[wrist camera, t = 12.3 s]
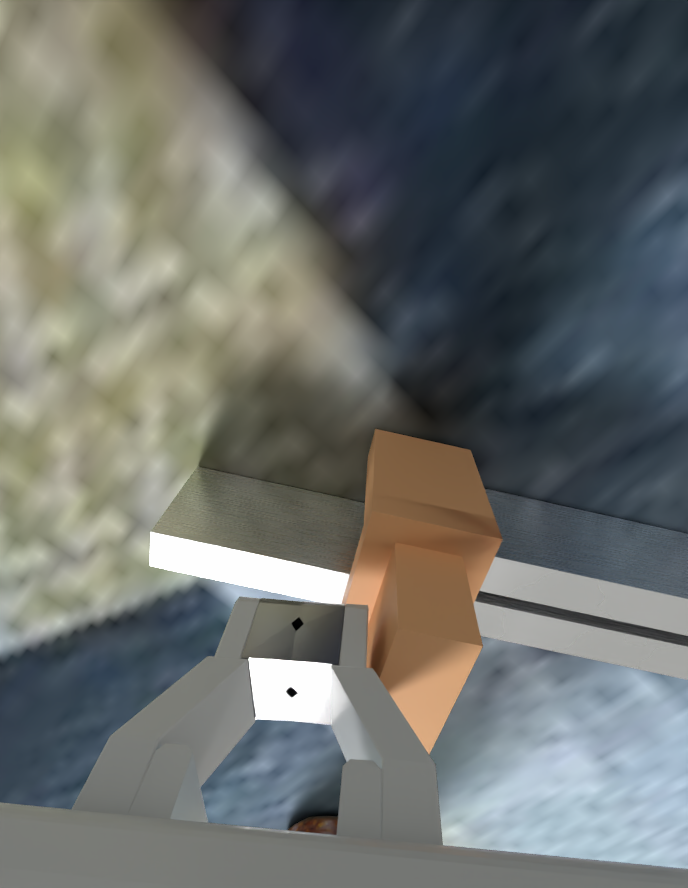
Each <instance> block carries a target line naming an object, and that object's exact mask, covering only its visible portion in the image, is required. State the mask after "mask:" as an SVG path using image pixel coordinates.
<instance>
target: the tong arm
mask: <svg viewBox="0 0 688 888" xmlns="http://www.w3.org/2000/svg"><path fill="white" fill-rule="evenodd" d="M484 489H485V488H484ZM485 491H486V494H487V497H488V500H489V503H490V505H491V508H492V511H493V514H494V516H495V519H496V522H497V525H498V528H499V530H500V533H501V536H502V539H503V540H502V542H501V545H500V547H499V549H498V551H497V553H496V555H495V558H494V560H493V562H492V564H491V566H490V569H489V571H488V573H487V575H486V577H485V580H484V582H483V584H482V586H481V588H480V591H483V592H487V593H492V594H497V595H501V596H506V597H510V598H515V599H520V600H524V601H529V602H534V603H538V604H543V605H547V606H552V607H557V608H561V609H566V610H570V611H575V612H580V613H584V614H589V615H593V616H598V617H603V618H607V619H612V620H616V621H621V622H626V623H630V624H635V625H640V626H644V627H649V628H653V629H658V630H663V631H667V632H672V633H676V634H681V635H686V636H688V534H686V533H682V532H678V531H673V530H669V529H664V528H660V527H655V526H651V525H646V524H642V523H637V522H633V521H628V520H624V519H619V518H615V517H610V516H606V515H601V514H597V513H592V512H588V511H584V510H579V509H575V508H570V507H566V506H561V505H557V504H552V503H548V502H543V501H539V500H534V499H530V498H525V497H521V496H516V495H512V494H507V493H503V492H498V491H494V490H489V489H485Z"/></svg>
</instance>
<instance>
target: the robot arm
mask: <svg viewBox="0 0 688 888" xmlns="http://www.w3.org/2000/svg"><path fill="white" fill-rule="evenodd" d="M368 612H369V608H368V605H359V604H340V603H321V602H303V601H302V602H299V601H287V600H276V599H265V598H262V599H260V598H249V597H239V598H238V600H237V601H236V602H235V605H234V607H233V610H232V612H231V615H230V618H229V620H228V623H227V625H226V628H225V631H224V633H223V636H222V638H221V641H220V644H219V646H218V649H217V651H216V654H215V657H211V656H208V657H206V658H205V659H204V660H203V661H202V662H200V663H199V664H198V665H197V666H195V667H194V668H193V669H192V670H190V671H189V672H188V673H187V674H186V675H184V676H183V677H182V678H181V679H179V680H178V681H177V682H176V683H175V684H173V685H172V686H171V687H170V688H168V689H167V690H166V691H165V692H163V693H162V694H161V695H160V696H159V697H157V698H156V699H155V700H154V701H152V702H151V703H150V704H149V705H148V706H146V707H145V708H144V709H143V710H141V711H140V712H139V713H138V714H136V715H135V716H134V717H133V718H132V719H130V720H129V721H128V722H127V723H125V724H124V725H123V726H122V727H121V728H119V729H118V730H117V731H116V732H114V733H113V734H112V735H111V736H110V737H109V739H108V741H107V743H106V745H105V747H104V749H103V751H102V752H101V754H100V756H99V758H98V760H97V762H96V764H95V766H94V768H93V770H92V771H91V773H90V775H89V777H88V779H87V781H86V783H85V785H84V787H83V789H82V790H81V792H80V794H79V796H78V798H77V800H76V802H75V804H74V806H73V808H72V809H71V810H70V809H60V808H50V807H39V806H29V805H19V804H8V803H0V888H688V869H683V868H673V867H663V866H652V865H642V864H631V863H621V862H611V861H600V860H590V859H579V858H569V857H559V856H548V855H538V854H527V853H517V852H507V851H496V850H486V849H475V848H465V847H455V846H444V845H443V842H442V831H441V820H440V809H439V797H438V786H437V775H436V765H435V763H434V761H433V760H432V758H431V757H430V755H429V754H428V752H427V751H426V749H425V748H424V746H423V745H422V743H421V741H420V740H419V738H418V737H417V735H416V734H415V732H414V731H413V729H412V728H411V726H410V725H409V723H408V721H407V720H406V718H405V717H404V715H403V714H402V712H401V711H400V709H399V708H398V706H397V705H396V703H395V701H394V700H393V698H392V697H391V695H390V694H389V692H388V691H387V689H386V688H385V686H384V685H383V683H382V681H381V680H380V678H379V677H378V675H377V674H376V672H375V671H374V669H373V668H366V662H367V637H368ZM255 719H267V720H286V721H299V722H308V723H317V724H326V725H332V729H333V731H334V734H335V736H336V738H337V740H338V743H339V745H340V747H341V750H342V752H343V754H344V757H345V759H346V761H347V762H346V763H345V764H344V765H343V769H342V780H341V791H340V802H339V813H338V824H337V834H336V835H331V834H321V833H310V832H300V831H290V830H279V829H269V828H258V827H248V826H237V825H227V824H216V823H208V820H207V816H206V811H205V806H204V802H203V797H202V793H201V788H200V787H201V786H202V785H203V784H204V782H205V781H206V780H207V779H208V778H209V776H210V775H211V774H212V773H213V772H214V770H215V769H216V768H217V767H218V766H219V764H220V763H221V762H222V761H223V760H224V758H225V757H226V756H227V755H228V754H229V752H230V751H231V750H232V749H233V748H234V746H235V745H236V744H237V743H238V742H239V740H240V739H241V738H242V737H243V736H244V734H245V733H246V732H247V731H248V729H249V728H250V727H251V726H252V725H253V723H254V722H255Z"/></svg>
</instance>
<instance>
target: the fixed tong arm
mask: <svg viewBox="0 0 688 888" xmlns="http://www.w3.org/2000/svg"><path fill="white" fill-rule="evenodd" d="M364 511H365V503H363V502H358V501H354V500H349V499H345V498H340V497H336V496H331V495H326V494H322V493H317V492H313V491H308V490H303V489H299V488H294V487H290V486H285V485H280V484H276V483H271V482H267V481H262V480H258V479H253V478H248V477H244V476H239V475H235V474H230V473H225V472H221V471H216V470H212V469H207V468H203V467H197V468H196V469H195V471H194V472H193V474H192V475H191V476H190V478H189V479H188V480H187V482H186V483H185V485H184V486H183V487H182V489H181V490H180V492H179V493H178V494H177V496H176V497H175V499H174V500H173V501H172V503H171V504H170V506H169V507H168V508H167V510H166V511H165V513H164V514H163V515H162V517H161V518H160V520H159V521H158V522H157V524H156V525H155V527H154V528H153V529H152V531H151V536H150V566H153V567H158V568H163V569H167V570H172V571H177V572H182V573H186V574H191V575H196V576H200V577H205V578H210V579H215V580H219V581H224V582H229V583H233V584H238V585H243V586H248V587H252V588H257V589H262V590H267V591H271V592H276V593H281V594H285V595H290V596H295V597H300V598H304V599H309V600H314V601H318V602H323V603H340V604H342V600H343V597H344V593H345V590H346V586H347V583H348V579H349V575H350V572H351V568H352V565H353V561H354V558H355V554H356V551H357V547H358V544H359V540H360V536H361V533H362V529H363V526H364ZM473 605H474V609H475V614H476V618H477V622H478V627H479V631H480V636H484V637H488V638H493V639H498V640H503V641H507V642H512V643H517V644H521V645H526V646H531V647H536V648H540V649H545V650H550V651H555V652H559V653H564V654H569V655H573V656H578V657H583V658H588V659H592V660H597V661H602V662H606V663H611V664H616V665H621V666H625V667H630V668H635V669H640V670H644V671H649V672H654V673H658V674H663V675H668V676H673V677H677V678H682V679H687V680H688V636H686V635H681V634H676V633H672V632H667V631H663V630H658V629H653V628H649V627H644V626H640V625H635V624H630V623H626V622H621V621H616V620H612V619H607V618H603V617H598V616H593V615H589V614H584V613H580V612H575V611H570V610H566V609H561V608H557V607H552V606H547V605H543V604H538V603H534V602H529V601H524V600H520V599H515V598H510V597H506V596H501V595H497V594H492V593H487V592H483V591H479V593H478V595H477V597H476V599H475V602H474V604H473Z"/></svg>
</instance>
